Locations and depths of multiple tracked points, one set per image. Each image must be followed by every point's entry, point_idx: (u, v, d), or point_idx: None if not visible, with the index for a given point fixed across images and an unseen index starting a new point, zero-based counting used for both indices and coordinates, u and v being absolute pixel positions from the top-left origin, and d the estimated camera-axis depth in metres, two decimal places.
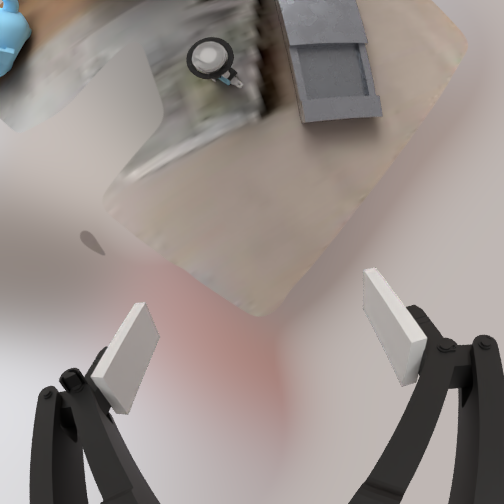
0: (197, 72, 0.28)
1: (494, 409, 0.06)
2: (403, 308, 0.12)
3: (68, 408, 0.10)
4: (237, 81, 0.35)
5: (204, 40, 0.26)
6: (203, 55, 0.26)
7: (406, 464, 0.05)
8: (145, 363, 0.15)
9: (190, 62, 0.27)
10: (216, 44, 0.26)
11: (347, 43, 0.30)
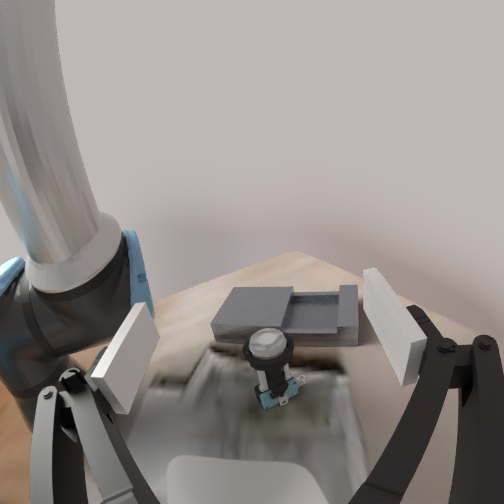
0: (279, 357, 0.28)
1: (494, 409, 0.06)
2: (403, 308, 0.12)
3: (68, 408, 0.10)
4: (298, 377, 0.34)
5: (246, 345, 0.30)
6: (264, 341, 0.29)
7: (406, 464, 0.05)
8: (145, 363, 0.15)
9: (263, 360, 0.28)
10: (259, 331, 0.30)
11: (290, 297, 0.48)
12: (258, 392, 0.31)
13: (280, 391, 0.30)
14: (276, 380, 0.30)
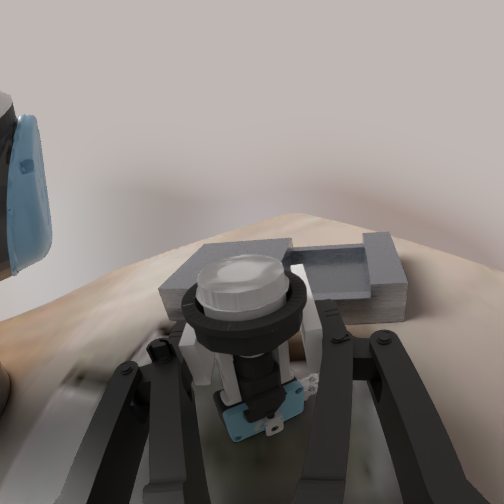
0: (269, 317, 0.10)
1: (413, 398, 0.07)
2: (311, 300, 0.14)
3: None
4: (305, 380, 0.16)
5: (191, 291, 0.13)
6: (233, 276, 0.12)
7: (335, 451, 0.07)
8: None
9: (225, 323, 0.10)
10: (224, 260, 0.13)
11: (287, 250, 0.31)
12: (220, 406, 0.14)
13: (268, 407, 0.13)
14: (259, 382, 0.13)
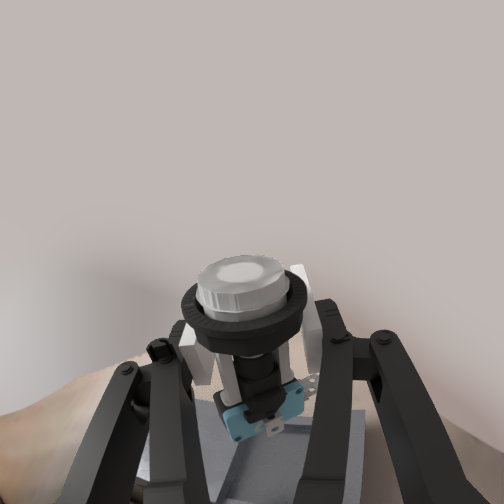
0: (269, 317, 0.10)
1: (412, 399, 0.07)
2: (311, 300, 0.14)
3: None
4: (305, 380, 0.16)
5: (191, 292, 0.13)
6: (233, 276, 0.12)
7: (335, 451, 0.07)
8: None
9: (225, 324, 0.10)
10: (224, 261, 0.13)
11: None
12: (220, 406, 0.14)
13: (268, 408, 0.13)
14: (259, 383, 0.13)
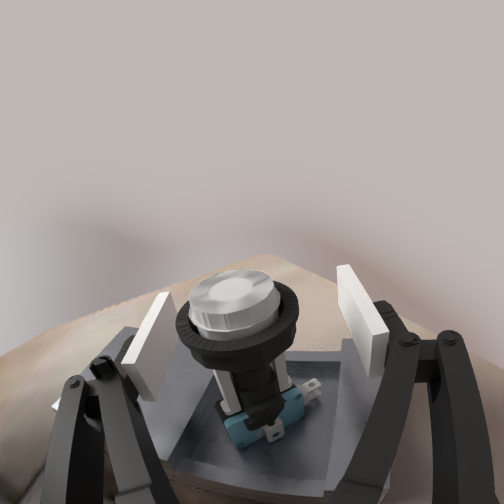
0: (259, 335, 0.10)
1: (466, 402, 0.06)
2: (369, 303, 0.13)
3: (97, 396, 0.11)
4: (305, 385, 0.16)
5: (185, 309, 0.13)
6: (223, 294, 0.12)
7: (381, 457, 0.06)
8: (170, 351, 0.16)
9: (217, 343, 0.10)
10: (215, 276, 0.13)
11: None
12: (221, 415, 0.14)
13: (267, 416, 0.13)
14: (256, 393, 0.13)
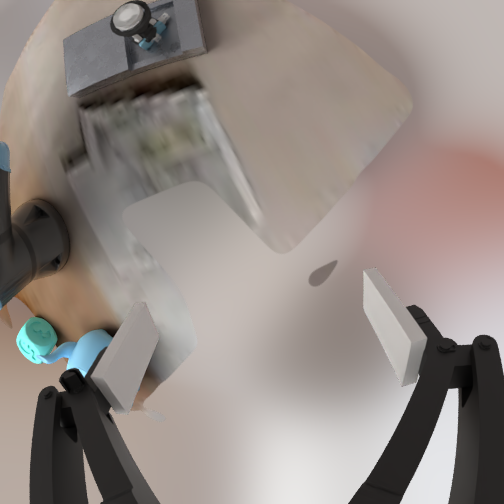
0: (141, 23, 0.24)
1: (494, 409, 0.06)
2: (403, 308, 0.12)
3: (68, 408, 0.10)
4: (161, 17, 0.30)
5: (112, 25, 0.24)
6: (125, 18, 0.23)
7: (406, 464, 0.05)
8: (145, 363, 0.15)
9: (131, 31, 0.25)
10: (117, 11, 0.23)
11: None
12: (136, 43, 0.30)
13: (152, 35, 0.30)
14: (145, 31, 0.28)
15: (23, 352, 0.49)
